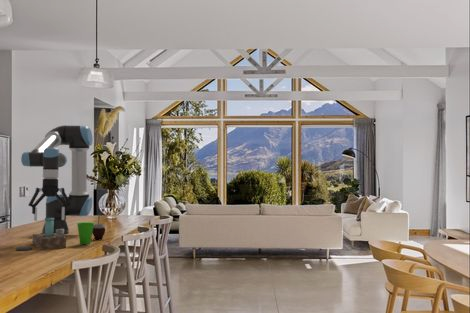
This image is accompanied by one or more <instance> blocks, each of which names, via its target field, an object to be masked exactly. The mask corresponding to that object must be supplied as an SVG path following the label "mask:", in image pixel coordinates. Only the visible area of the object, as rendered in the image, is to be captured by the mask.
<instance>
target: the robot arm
mask: <svg viewBox="0 0 470 313" xmlns="http://www.w3.org/2000/svg"><path fill="white" fill-rule="evenodd" d="M92 145H93V132H92V130H91V128H90V127H89V126H88V125H60V126H56V127H55V128H52V129H51V130H48V132H46V133H45V136H44V138H43V140H41V141H40V142H39V143H38V144H37V145H36V146H35V147H34V148H33V149H32V150H31V151H25V152H23V153H22V154H21V158H20V160H21V165H22V166H24V167H30V168H31V167H34V168H36V167H37V168H38V167H42V177H43V179H42V186H41V187H40V188H39V187H35V192H34V193H33V195H32V197H31V199H30V201H29V203H28V207H31V213H32V214H33V221H34V222H35V221H38V208H37V206H38V205H39V203H41V201H42V200H44V198H46V199H45V200H46V201H45V218H54V227H53V233H56V229H64V235H66V234H69V232H70V229H69V224H68V223H67V217H87V216H88V215H90V214H91V211H92V208H93V197H91V196H90V193H89V192H88V190H87V178H88V177H87V176H88V175H87V169H88V168H87V166H88V165H87V164H88V163H87V161H88V160H87V154H88V152H87V151H88V150H89V149H90V147H91V146H92ZM59 146H68V150H70V151H71V191H70V192H69V193H68V196H67V193H66V192H65V191H66V190H65V187H60V188H59V179H58V178H59V168H61V167H64V166H66V164H67V162H68V158H67V156H66V155H65V154H64V153H61V152H60V150H59V148H57V147H59ZM41 192H42V194H41V195H40V196H39V198H38V199H37V197H38V195H39V193H41ZM58 192H60V193H61V194H58ZM41 234H45V223H44V224H43V227H42V230H41Z"/></svg>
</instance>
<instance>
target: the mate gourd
mask: <svg viewBox="0 0 470 313" xmlns="http://www.w3.org/2000/svg"><path fill="white" fill-rule="evenodd" d="M100 218H101V213H98V217H97V220H98V221H97V224H94V227H93V232H92V236H93V237H94V238H93V239H98V240H99V239H102V238H103V237H104V235H105V233H106V227H105V225H104V224H100ZM103 239H104V238H103Z"/></svg>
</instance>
